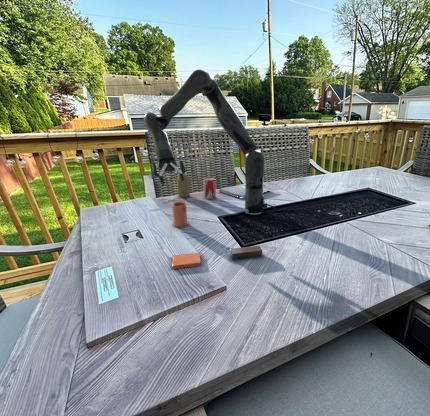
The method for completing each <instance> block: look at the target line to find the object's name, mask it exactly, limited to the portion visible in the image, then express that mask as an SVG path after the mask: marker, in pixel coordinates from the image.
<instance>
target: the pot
mask: <svg viewBox="0 0 430 416" xmlns="http://www.w3.org/2000/svg"><path fill="white" fill-rule="evenodd" d="M171 207H172V217H173V226H174V227H176V228H183V227H186V226H188V212H187V211H188V210H187V203H186V202H184V201H177V202H173V203H172V205H171Z"/></svg>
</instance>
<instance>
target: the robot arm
mask: <svg viewBox="0 0 430 416" xmlns="http://www.w3.org/2000/svg"><path fill="white" fill-rule="evenodd" d="M201 93H202V94H203V95H204V96H205V97H206V99H207V100H208V101H209V103H210V104H211V107H212V108H213V111H214V114H215V117H216V119H217V121H218V123H219V124H220V126H221V128H222V129H223V131H224V132H225V133H226V134H227V136H229V138H230V139H231V140H232V141H233V142H234V143H235V144H236V145H237V146H238V147H239V149H240V151H241V153H242V154H243V156H244V158H245V160H244V161H245V162H244V165H245V167H244V176H245V177H244V178H245V179H244V181H245V182H244V184H245V199H244V213H245V214H246V215H248V216H260V215H263V214H264V209H268V207H270V208H272V209H274V210H275V212H279V213H280V212H283V211H293V212H294V211H299V210H300V211H301V210H302V211H304V212H307V209H306V208H304V207H298V208H283V209H277V208H276V207H275V206H274V205H271V204H269V203H268V202H267V201H266V200H265V196H264V194H263V186H264V176H265V175H264V174H265V155H264V153H263V152H262V151H261V150H260V148H259V146H257V145H256V143H255V142H254V141H253V140H252V138H251V136H250V134H249V133H248V130H247V128H246V127H245V125H244V123H243V122H242V119H241V118H240V116H239V115H238V114H237V112H236V111H235V110H234V108H233V107H232V105H231V103H230V102H229V101H228V100H227V98H226V97H225V95H224V94H223V92H222V91H221V88H220V87H219V85H218V83H217V81H216V79H215V77H214V75H213V74H212V73H211V72H210V71H209V70H206V69H195V70H193V72H192V73H191V74H190V75H189V77H188V78H187V79H186V81H184V83H183V84H182V85H181V87H180V88H179V89H177V91H176V92H175V93H174V94H172V95H171V96H170V97H169V98H168V99H167V100H166V101H165V102H163V104H161V105H160V107H159V108H158V111H159V114H160V115H158V114H156V113H154V112H146V114H145V115H144V116H143V124H144V126H145V128H146V130H147V132H148V134H149V135H150V136H151V140H152V143H153V147H154V148H153V149H154V153H155V155H156V159H157V163H152V165H151V168H152V173H153V177H154V178H158V180H159V184H160V185H162V186H165V179H164V176H163V175H164V173H173V172H174V173H175V174H177V175H178V177H179V178H180V181H181V183H182V182H183V181H184V178H183V174H185V173H187V170H186V168H185V165H184V162H183V160H180V161H176V158H175V155H174V153H173V149H172V146H171V144H170V143H171V142H170V141H169V137H168V135H167V132H166V131H164V130H166V128H167V127H168V126H169V124H170V122H171V121H172V119H173V118H174V117H176V116H177V115H178V114H179V113H180V112H182V110H183V109H184V108H185V106H186V105H187V104H188V103H189V102H190V100H192V99H193V98H194V97H196V96H197V95H199V94H201ZM177 166H178V167H177ZM158 168H159V169H160V172H159V173H158V171H157V170H158ZM303 208H304V209H303Z"/></svg>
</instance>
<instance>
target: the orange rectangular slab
mask: <svg viewBox="0 0 430 416" xmlns="http://www.w3.org/2000/svg"><path fill="white" fill-rule="evenodd" d="M201 265H202V262H201V255H200V252H192V253H183V254H174V255H173V254H172V269H173V270H175V269H182V268H190V267H198V266H199V267H201Z"/></svg>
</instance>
